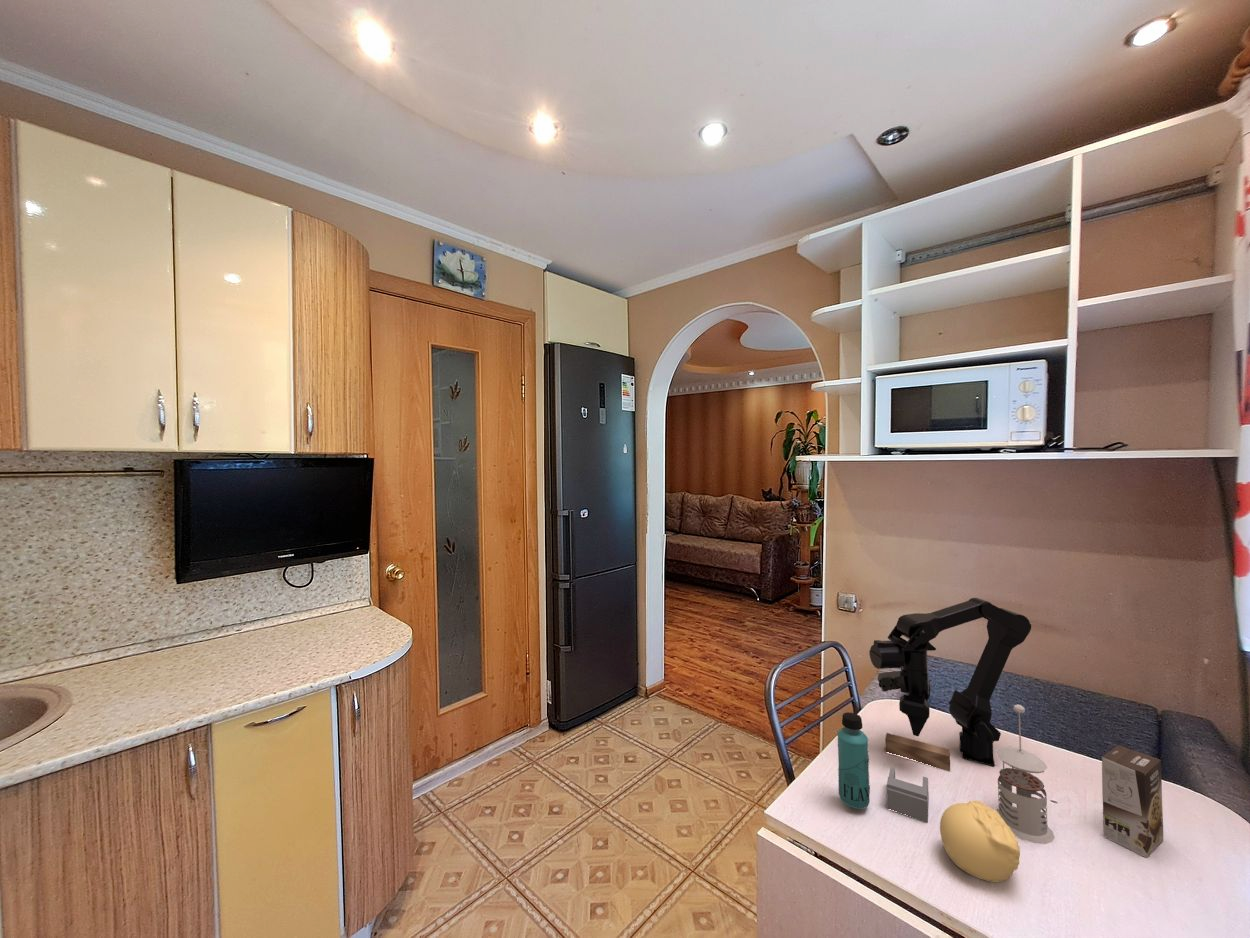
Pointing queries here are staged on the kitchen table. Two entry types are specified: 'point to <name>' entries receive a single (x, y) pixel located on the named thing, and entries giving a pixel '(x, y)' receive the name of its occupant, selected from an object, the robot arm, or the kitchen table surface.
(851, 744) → the beverage bottle
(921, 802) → the endcap
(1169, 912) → the kitchen table surface
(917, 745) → the slat
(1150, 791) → the coffee box
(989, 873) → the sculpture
